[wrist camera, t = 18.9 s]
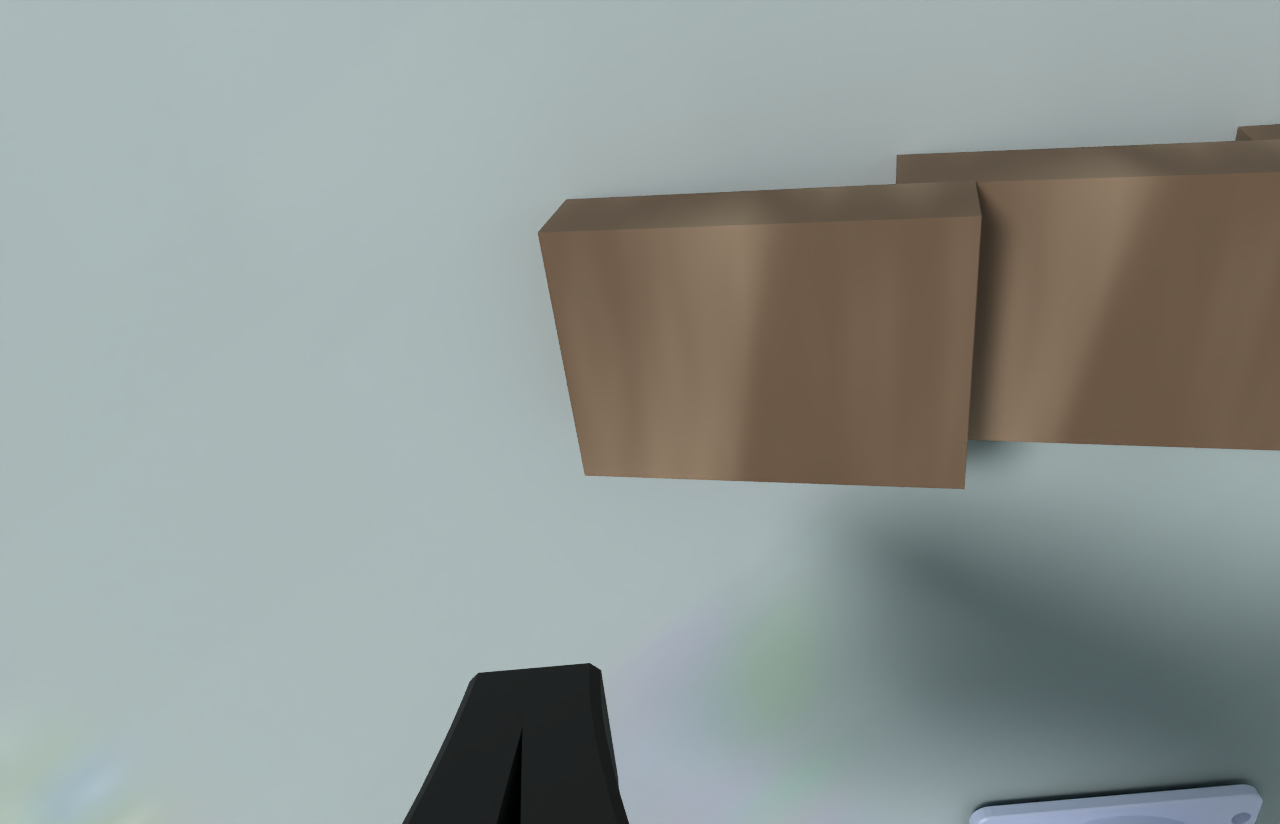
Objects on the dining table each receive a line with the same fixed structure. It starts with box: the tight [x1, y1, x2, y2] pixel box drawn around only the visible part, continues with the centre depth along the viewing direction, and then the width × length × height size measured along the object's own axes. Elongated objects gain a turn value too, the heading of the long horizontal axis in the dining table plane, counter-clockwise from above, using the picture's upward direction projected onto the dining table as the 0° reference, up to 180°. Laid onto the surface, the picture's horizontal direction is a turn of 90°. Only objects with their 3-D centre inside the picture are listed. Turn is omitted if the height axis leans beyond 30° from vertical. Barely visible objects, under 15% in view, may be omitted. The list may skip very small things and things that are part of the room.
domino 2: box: [896, 139, 1280, 450], centre depth 16 cm, size 2×5×7 cm
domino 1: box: [538, 180, 982, 489], centre depth 17 cm, size 2×5×7 cm
